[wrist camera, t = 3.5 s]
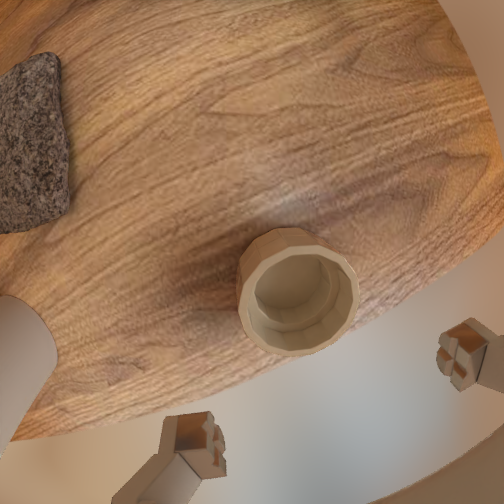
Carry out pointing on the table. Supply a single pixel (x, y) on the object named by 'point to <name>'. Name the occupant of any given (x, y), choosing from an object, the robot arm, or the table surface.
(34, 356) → the taupe round pillar
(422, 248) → the table surface
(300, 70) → the table surface
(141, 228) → the table surface
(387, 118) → the table surface
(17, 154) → the stone
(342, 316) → the small bowl
